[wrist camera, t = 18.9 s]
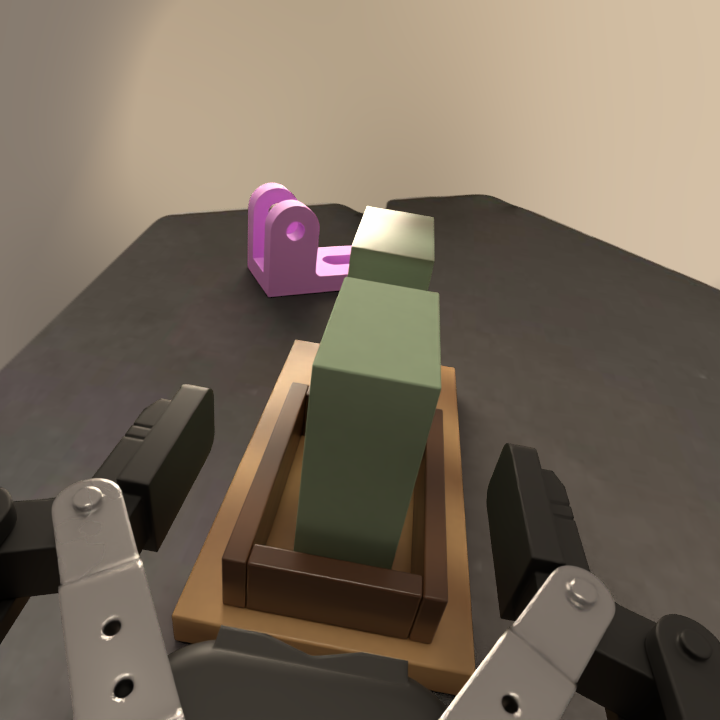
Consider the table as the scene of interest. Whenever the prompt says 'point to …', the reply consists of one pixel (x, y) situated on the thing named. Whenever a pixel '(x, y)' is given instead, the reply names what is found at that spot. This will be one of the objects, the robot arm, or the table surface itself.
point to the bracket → (290, 246)
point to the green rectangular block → (368, 421)
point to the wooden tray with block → (332, 576)
